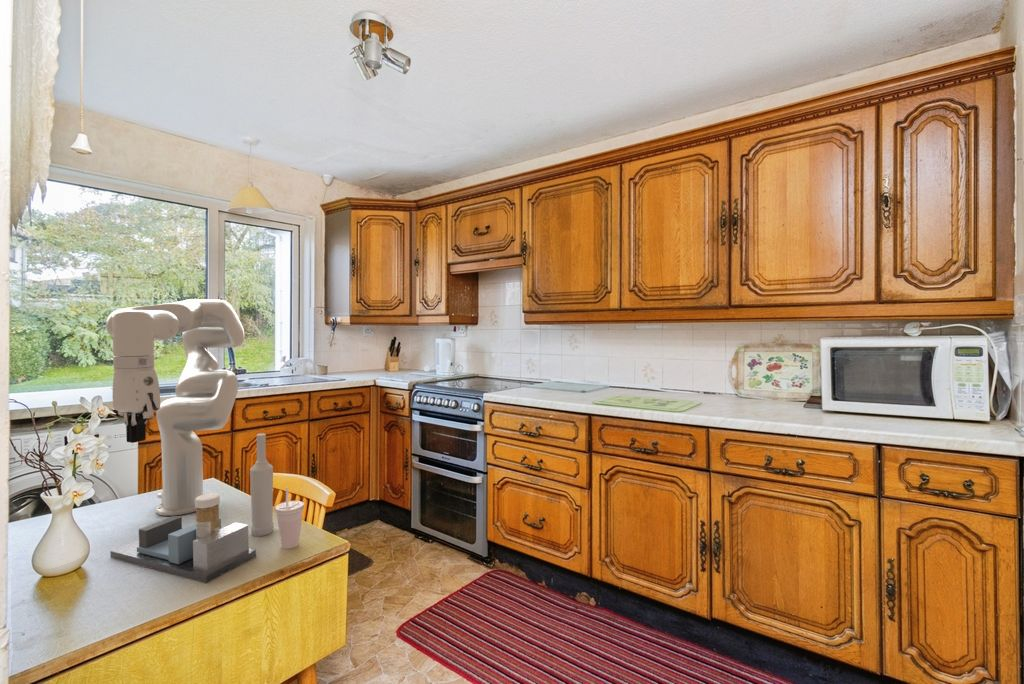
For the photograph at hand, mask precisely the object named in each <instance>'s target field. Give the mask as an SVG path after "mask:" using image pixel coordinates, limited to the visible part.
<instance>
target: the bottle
mask: <svg viewBox="0 0 1024 684" xmlns="http://www.w3.org/2000/svg"><path fill="white" fill-rule="evenodd" d="M266 436H267V434H266V433H257V434H256V461H255V464H253V466H251V468H250V469H249V475H250V477H249V478H250V507H251V526H250V532H251V535H252V536H253V537H264V536H267V535H270V534H272V533H273V531H274V526H275V524H274V521H273V518H274V517H273V514H274V513H273V512H274V510H273V507H274V506H273V505H274V501H273V500H274V496H273V495H274V466H273V465H272V464H270V463H269V462H268V460H267V446H266V445H267V444H266V442H267V441H266V440H267V437H266Z"/></svg>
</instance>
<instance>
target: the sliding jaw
mask: <svg viewBox="0 0 1024 684" xmlns="http://www.w3.org/2000/svg"><path fill="white" fill-rule="evenodd" d="M182 519H183V517H182V516H180V515H173V516H170V517H167V518H165V519H162V520H160V521H156V522H154V523H152V524H148V525H146V526H144V527H141V528H138V540H139V547H137V552H139V553H143V554H147V555H151V556H154V557H158V558H162V559H166V560H169V562H171V563H175V564H180V563H182V562H185V561H187V560H189V559H191V558H193V541H194V540H196V539H197V537H196V522H195V523H193V524H190V525H188V526H186V527H183V520H182ZM219 527H220V529H221V528H222V519H221V518H220V517H219Z"/></svg>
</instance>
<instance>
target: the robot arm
mask: <svg viewBox="0 0 1024 684" xmlns="http://www.w3.org/2000/svg"><path fill="white" fill-rule="evenodd" d="M105 327H106V331H107V333H108V334H109V336H110V337H111V338H112V355H113V357H112V358H113V359H112V360H113V362H112V363H113V364H112V365H113V372H114V373H113V377H112V379H113V381H112V405H113V406H112V407H113V408H114V410H116V411H117V414H118V416H120V417H122V418H123V422H124V425H125V429H126V432H125V433H126V443H139V442H142V441H146V440H147V438H146V437H147V436H146V435H147V434H146V432H147V431H146V430H147V429H146V428H147V427H146V425H147V423H148V419H150V418H153V417H154V416H155V415H156V417H155V418H156V422H157V425H158V429H159V434H160V443H161V444H160V445H161V472H162V473H161V476H162V478H161V479H162V480H161V481H162V492H158V494H156V495H157V496H156V497H157V498H158V499H161V503H159V505H157V506H156V508H155V511H156V514H158V515H159V516H165V517H166V516H167V517H168V516H170V517H172V516H180V515H181V516H182V515H187V514H191V513H196V507H195V499H196V498H197V497H198V496H201V495H204V467H203V466H204V465H203V464H204V463H203V462H204V461H203V444H202V441H201V438H199V436H198V435H197V434H196V433H195V431H214V430H216V431H217V430H221V429H222V428H224V427H225V426H226V425H227V423H228V422H229V419H230V418H231V417H230V415H231V413H232V412H233V411H232V410H233V407H234V404H235V401H236V398H237V396H238V391H239V380H238V377H237V375H236V374H235V372H234V371H231V370H227V369H218V368H219V362H218V360H217V359H216V357H215V356H214V355H213V353H211V352H210V351H208V350H207V349H208V348H210V349H211V348H212V349H213V348H218V349H219V348H221V349H222V348H237V347H240V346H241V345H242V344H243V342H244V340H245V331H244V327H243V325H242V322H241V320H240V319H239V316H238V314H237V313H236V311H235V310H234V308H233V306H232V304H230V303H229V302H228V301H226V300H224V299H211V298H210V299H209V298H208V299H205V298H204V299H203V298H201V299H199V298H190V299H185V300H180V301H175V302H169V303H160V304H159V303H158V304H151V305H141V306H132V307H131V306H129V307H124V308H119V309H116V310H113V312H111V313H110V314H109V316H108V317H107V320H106V323H105ZM177 334H182V335H181V337H182V345H183V348H184V352H185V356H186V363H185V365H184V367H183V370H182V372H181V374H180V375H179V378H178V380H177V383H176V386H175V389H174V390H175V391H174V392H175V395H176V397H172V398H168V399H165V400H163V401H162V402H161V392H160V390H161V389H160V384H159V378H158V373H157V369H156V368H155V341H168V340H170V339H173V338H174V337H176V336H177ZM154 411H155V413H156V414H154Z"/></svg>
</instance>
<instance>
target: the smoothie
mask: <svg viewBox="0 0 1024 684" xmlns="http://www.w3.org/2000/svg"><path fill="white" fill-rule="evenodd" d="M304 509H305V502H303V501H300V500H290V499H289V487H286V488H285V501H284V502H280V503H279V504H277V505H276V506H274V513H276V517H277V518H276V519H277V527H278V531H279V538H280V544H281V548H282V549H284V550H290V549H294V548H296V547H298V546H299V544H300V536H301V535H300V534H301V527H302V517H303V512H304V511H303V510H304Z"/></svg>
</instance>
